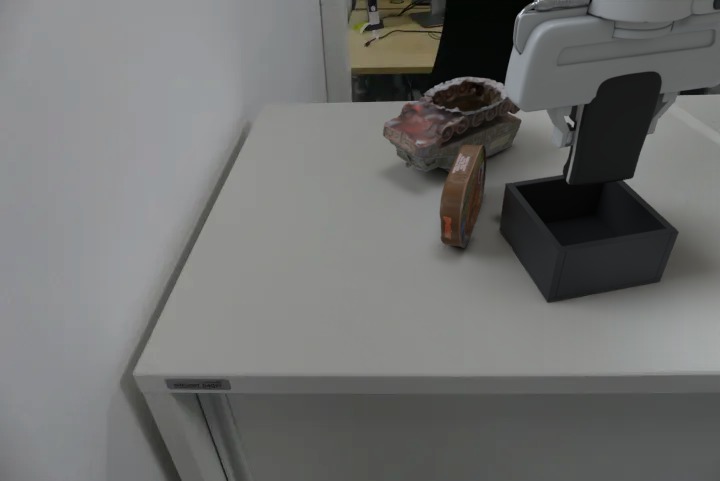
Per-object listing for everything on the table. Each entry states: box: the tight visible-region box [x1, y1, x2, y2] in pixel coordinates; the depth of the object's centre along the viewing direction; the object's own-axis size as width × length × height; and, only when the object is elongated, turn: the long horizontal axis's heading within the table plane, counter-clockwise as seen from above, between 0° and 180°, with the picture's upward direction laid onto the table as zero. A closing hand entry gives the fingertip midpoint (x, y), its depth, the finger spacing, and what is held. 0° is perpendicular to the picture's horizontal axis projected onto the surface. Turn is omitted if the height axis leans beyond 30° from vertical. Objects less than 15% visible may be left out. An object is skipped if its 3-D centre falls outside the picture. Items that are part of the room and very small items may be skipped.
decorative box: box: [382, 76, 522, 173], centre depth 76 cm, size 13×20×10 cm, turn 120°
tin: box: [439, 145, 487, 249], centre depth 66 cm, size 15×3×8 cm, turn 160°
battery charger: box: [562, 71, 662, 186], centre depth 53 cm, size 7×4×11 cm, turn 99°
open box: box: [499, 174, 680, 303], centre depth 61 cm, size 13×13×7 cm
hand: (602, 138), depth 54 cm, fingers closed on battery charger, 7 cm apart
